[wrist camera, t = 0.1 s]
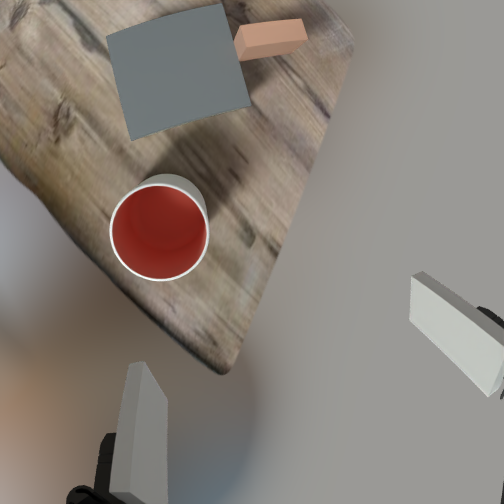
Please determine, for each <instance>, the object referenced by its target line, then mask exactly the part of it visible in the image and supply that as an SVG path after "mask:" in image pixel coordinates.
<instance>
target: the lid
mask: <svg viewBox="0 0 504 504" xmlns="http://www.w3.org/2000/svg"><path fill="white" fill-rule="evenodd" d="M106 39H107V44H108V49H109V54H110V59H111V63H112V68H113V72H114V77H115V81H116V85H117V89H118V93H119V97H120V101H121V105H122V109H123V113H124V117H125V121H126V124H127V128H128V132H129V135H130V139H131V141H133V140H136V139H139V138H142V137H144V136H147V135H150V134H153V133H156V132H159V131H162V130H165V129H168V128H171V127H174V126H178V125H181V124H184V123H187V122H191V121H194V120H198V119H201V118H205V117H208V116H212V115H216V114H220V113H224V112H228V111H232V110H236V109H240V108H244V107H249V106H251V102H250V99H249V95H248V91H247V88H246V84H245V80H244V77H243V73H242V70H241V66H240V62H241V61H246V60H252V59H257V58H263V57H270V56H276V55H284V54H291V53H293V52H294V51H295V50H296V49H297V48H298V47H300V46H301V45H302V44H303V43H305V42H306V41H307V40H308V37H307V34H306V31H305V28H304V25H303V22H302V19H289V20H278V21H269V22H261V23H254V24H247V25H240V27H239V29H238V32H237V34H236V36H235V39H234V41H233V38H232V35H231V31H230V28H229V24H228V21H227V18H226V14H225V11H224V8H223V5H222V3H220V4H215V5H209V6H204V7H200V8H195V9H191V10H187V11H182V12H178V13H175V14H171V15H167V16H164V17H160V18H157V19H153V20H150V21H147V22H144V23H141V24H138V25H135V26H132V27H129V28H126V29H124V30H121V31H118V32H116V33H113V34H110V35H108V36H106Z"/></svg>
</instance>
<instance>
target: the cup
mask: <svg viewBox="0 0 504 504" xmlns="http://www.w3.org/2000/svg"><path fill="white" fill-rule="evenodd" d="M209 237H210V228H209V222H208V216H207V210H206V205H205V201H204V198H203V196H202V194H201V193H200V191H199V190H198V188H197V187H196V186H195V185H194V184H193V183H192V182H190V181H189V180H187V179H185V178H184V177H181V176H178V175H174V174H159V175H155V176H152V177H150V178H148V179H146V180H145V181H143V182H142V183H140V184H139V185H138V186H136V187H135V188H134V189H132V190H131V191H130V192H128V193H127V194H126V195H125V196H124V197H123V198H122V199H121V200H120V201H119V203H118V204H117V206H116V208H115V210H114V212H113V214H112V218H111V222H110V239H111V244H112V247H113V250H114V252H115V254H116V256H117V257H118V259H119V260H120V262H121V263H122V264H123V265H124V266H125V267H126V268H127V269H128V270H130V271H131V272H132V273H134V274H136V275H137V276H140V277H142V278H145V279H148V280H153V281H168V280H173V279H177V278H179V277H182V276H183V275H185V274H187V273H189V272H190V271H191V270H193V269H194V268H195V267H196V266H197V265H198V264H199V262H200V261H201V260H202V258H203V256H204V255H205V252H206V250H207V247H208V243H209Z"/></svg>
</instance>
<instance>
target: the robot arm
mask: <svg viewBox="0 0 504 504" xmlns="http://www.w3.org/2000/svg"><path fill="white" fill-rule="evenodd" d="M409 320H410V321H411V322H412V323H413V324H414V325H415V326H416V327H417V328H419V330H420V331H421V332H423V333H424V334H425V335H426V336H427V337H428V338H429V339H430V340H431V341H432V342H433V343H434V344H435V345H436V346H437V347H438V348H439V349H441V351H442V352H443V353H444V354H446V355H447V356H448V357H449V358H450V359H451V360H452V361H453V362H454V363H455V364H456V365H457V366H458V367H459V368H460V369H461V370H462V371H463V372H464V373H465V374H466V375H467V376H468V377H469V378H470V379H471V380H472V381H473V382H474V383H475V384H476V385H477V386H478V387H479V389H481V391H483V393H485V395H486V396H487V397H489V396H490V395H491V394H493V393H494V392H495V391H496V390H497V389H499V387H500V385H501V383H502V380H503V379H504V321H503V320H502V319H501V318H500V317H497V315H496V314H494V313H493V312H492V311H490V310H489V309H486V308H483V307H480V306H479V307H477V308H475V307H474V306H472V305H471V304H469V303H468V302H467V301H465V300H464V299H463V298H461V297H460V296H458V295H457V294H455V293H454V292H453V291H451V290H450V289H448V288H447V287H445V286H444V285H442V284H441V283H440V282H438V281H437V280H435V279H434V278H432V277H431V276H429V275H427V274H426V273H425V272H423V271H422V272H420V273H417V274H415V275H412V276H411V301H410V319H409ZM503 396H504V390H503V392H502V394H501V397H500V399H503ZM167 411H168V399H167V398H166V397H165V395H164V393H163V392H162V390H161V388H160V387H159V385H158V384H157V382H156V380H155V379H154V377H153V375H152V373H151V372H150V371H149V369H148V367H147V365H146V363H145V362H144V361H141V362H137V363H132V364H129V368H128V373H127V378H126V383H125V388H124V393H123V399H122V404H121V409H120V415H119V421H118V428H117V433H107V434H106V436H105V437H104V439H103V441H102V442H101V445H100V451H99V456H98V465H97V469H96V476H95V483H94V490H93V489H92V488H91V487H88V486H85V485H82V486H77V487H75V488H73V489H72V490H71V491H70V492H69V494H68V496H67V500H66V504H168V489H167ZM501 504H504V483H503V491H502V498H501Z"/></svg>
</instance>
